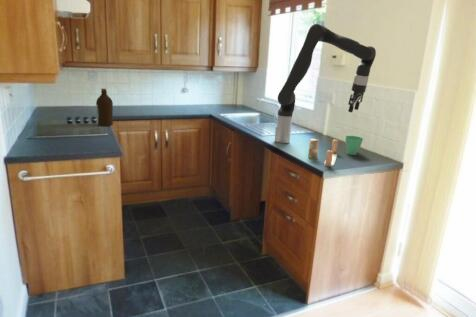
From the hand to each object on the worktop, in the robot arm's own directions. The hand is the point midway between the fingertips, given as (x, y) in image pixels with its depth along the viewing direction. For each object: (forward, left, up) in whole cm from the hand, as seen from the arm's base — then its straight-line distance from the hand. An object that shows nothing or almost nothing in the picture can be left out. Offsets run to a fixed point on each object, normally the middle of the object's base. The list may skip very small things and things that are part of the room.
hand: (353, 110), depth 210 cm
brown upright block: (-17, -21, -26) cm, 37 cm away
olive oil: (-162, -18, -26) cm, 165 cm away
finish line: (-7, -19, -26) cm, 32 cm away
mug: (+3, +2, -26) cm, 26 cm away
